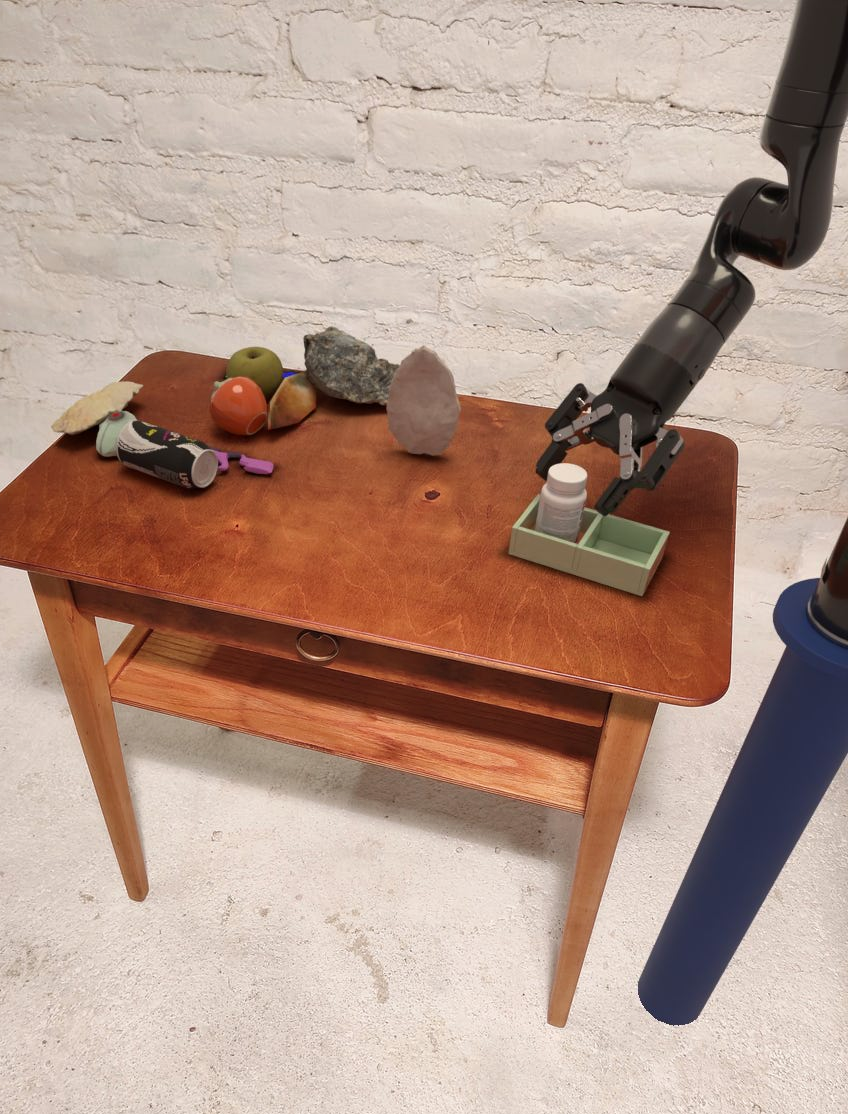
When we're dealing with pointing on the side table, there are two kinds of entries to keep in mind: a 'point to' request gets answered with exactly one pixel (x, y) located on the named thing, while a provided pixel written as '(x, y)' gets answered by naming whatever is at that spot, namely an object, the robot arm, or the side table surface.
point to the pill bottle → (562, 502)
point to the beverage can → (166, 455)
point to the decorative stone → (291, 401)
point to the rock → (347, 367)
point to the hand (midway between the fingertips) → (569, 494)
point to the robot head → (112, 432)
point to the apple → (257, 368)
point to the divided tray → (595, 549)
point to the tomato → (238, 406)
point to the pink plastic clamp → (242, 462)
